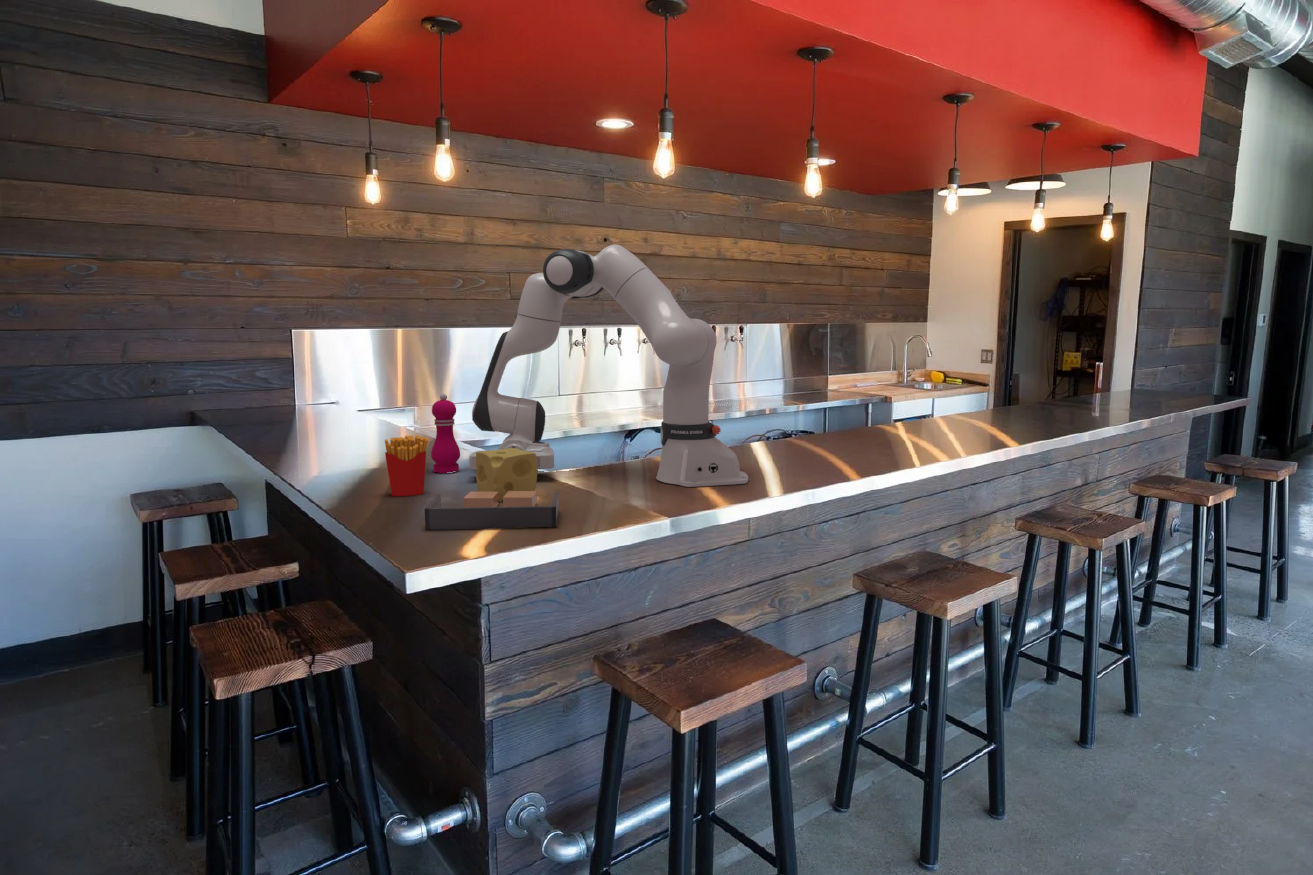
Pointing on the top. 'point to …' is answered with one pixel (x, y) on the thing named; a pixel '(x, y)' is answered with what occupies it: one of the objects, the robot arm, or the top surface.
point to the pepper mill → (444, 437)
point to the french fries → (406, 465)
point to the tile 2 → (520, 498)
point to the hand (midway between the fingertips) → (509, 465)
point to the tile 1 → (481, 499)
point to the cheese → (506, 471)
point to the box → (489, 516)
